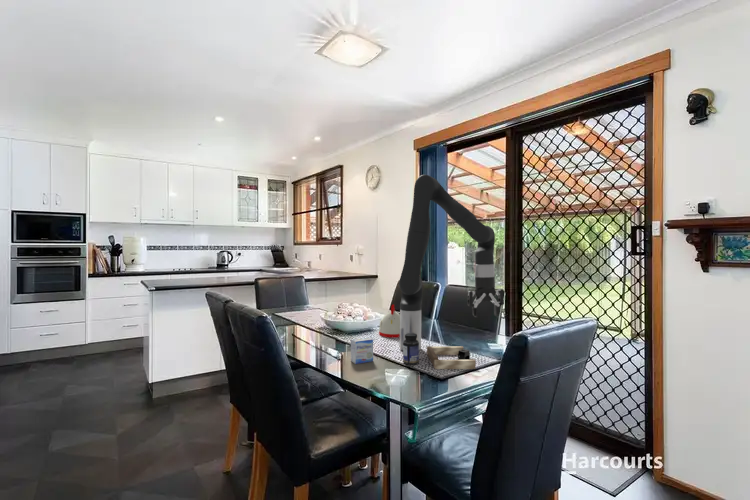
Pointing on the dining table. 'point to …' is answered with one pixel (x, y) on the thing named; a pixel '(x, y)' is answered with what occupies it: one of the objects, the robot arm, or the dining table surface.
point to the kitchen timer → (390, 324)
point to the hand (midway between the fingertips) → (485, 316)
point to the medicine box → (361, 350)
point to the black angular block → (464, 355)
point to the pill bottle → (411, 349)
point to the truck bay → (448, 364)
